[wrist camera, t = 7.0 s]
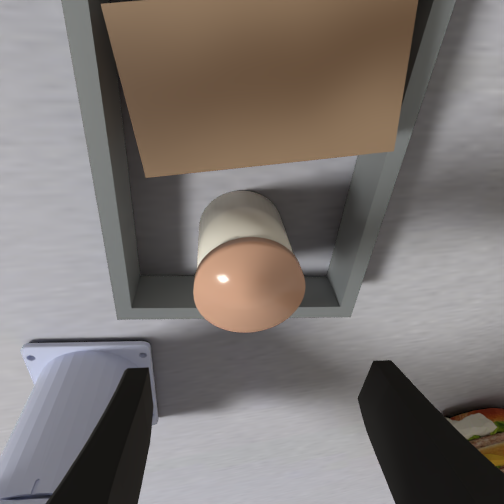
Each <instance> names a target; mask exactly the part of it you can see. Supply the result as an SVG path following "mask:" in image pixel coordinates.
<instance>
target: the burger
mask: <svg viewBox="0 0 504 504" xmlns="http://www.w3.org/2000/svg"><path fill="white" fill-rule="evenodd" d="M445 418H446V417H445ZM446 419H447V420H448V421H449V422H450V423H451V424H452V425H453V426H454V427H455V428H456V429H457V430H458V431H459V432H460V433H461V434H462V435H463V436H464V437H465V438H466V439H467V440H468V441H469V442H470V443H471V444H472V445H473V446H474V447H476V448H477V449H478V450H479V451H480V452H481V453H482V454H483V455H484V456H485V457H486V458H487V459H488V460H489V461H491V462H492V463H493V464H494V465H495V466H496V467H497V468H498V469H500V470H501V471H502V472H503V473H504V409H501V408H488V409H481V410H474V411H471V412H467V413H464V414H460V415H457V416H454V417H452V418H450V419H449V418H446Z"/></svg>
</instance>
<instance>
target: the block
mask: <svg viewBox="0 0 504 504" xmlns="http://www.w3.org/2000/svg"><path fill="white" fill-rule="evenodd" d="M417 5H418V0H140V1H128V2H117V3H105V4H101V8H102V11H103V15H104V19H105V23H106V27H107V31H108V34H109V38H110V42H111V46H112V50H113V54H114V58H115V61H116V65H117V69H118V73H119V77H120V81H121V84H122V88H123V92H124V96H125V100H126V104H127V108H128V111H129V115H130V119H131V123H132V127H133V131H134V134H135V138H136V142H137V146H138V150H139V154H140V158H141V161H142V165H143V169H144V173H145V177H146V178H150V177H159V176H169V175H178V174H187V173H197V172H206V171H215V170H225V169H234V168H243V167H252V166H262V165H271V164H280V163H290V162H299V161H308V160H317V159H327V158H336V157H345V156H355V155H364V154H373V153H383V152H392V151H394V148H395V142H396V136H397V129H398V123H399V117H400V111H401V105H402V98H403V92H404V86H405V80H406V74H407V67H408V61H409V55H410V49H411V43H412V36H413V30H414V24H415V18H416V11H417Z"/></svg>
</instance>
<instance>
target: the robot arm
mask: <svg viewBox="0 0 504 504" xmlns="http://www.w3.org/2000/svg"><path fill="white" fill-rule="evenodd" d="M21 354H22V357H23V359H24V361H25V364H26V366H27V369H28V371H29V373H30V376H31V378H32V381H33V383H34V388H33V390H32V392H31V394H30V396H29V398H28V400H27V402H26V404H25V406H24V408H23V410H22V412H21V415H20V417H19V419H18V421H17V423H16V425H15V427H14V429H13V431H12V433H11V435H10V437H9V440H8V442H7V444H6V446H5V448H4V450H3V452H2V454H1V456H0V504H138V499H139V494H140V489H141V485H142V480H143V475H144V470H145V465H146V460H147V455H148V450H149V445H150V437H151V428H152V425H155V424H157V423H158V409H157V400H156V391H155V382H154V372H153V363H152V354H151V346H150V344H149V343H148V342H146V341H120V342H66V343H27V344H25V345H23V347H22V349H21ZM358 401H359V405H360V409H361V413H362V417H363V420H364V424H365V427H366V431H367V433H368V436H369V439H370V441H371V444H372V446H373V449H374V451H375V454H376V456H377V459H378V461H379V464H380V466H381V469H382V471H383V474H384V476H385V479H386V481H387V484H388V486H389V489H390V491H391V494H392V496H393V499H394V501H395V504H504V473H503V472H502V471H501V470H500V469H498V468H497V467H496V466H495V465H494V464H493V463H492V462H491V461H489V460H488V459H487V458H486V457H485V456H484V455H483V454H482V453H481V452H480V451H479V450H478V449H477V448H476V447H474V446H473V445H472V444H471V443H470V442H469V441H468V440H467V439H466V438H465V437H464V436H463V435H462V434H461V433H460V432H459V431H458V430H457V429H456V428H455V427H454V426H453V425H452V424H451V423H450V422H449V421H448V420H447V419H446V418H445V417H444V416H443V415H442V414H441V413H440V412H439V411H438V410H437V409H436V408H435V407H434V406H433V405H432V404H431V403H430V402H429V401H428V400H427V398H426V397H425V396H424V395H423V394H422V393H421V392H420V391H419V390H418V389H417V388H416V387H415V386H414V385H413V383H412V382H411V381H410V380H409V379H408V378H407V377H406V376H405V375H404V374H403V373H402V372H401V371H400V369H399V368H398V367H397V366H396V365H395V364H394V363H393V362H392V361H391V360H385V361H373V363H372V366H371V368H370V370H369V373H368V375H367V377H366V380H365V382H364V385H363V387H362V389H361V392H360V394H359V396H358Z"/></svg>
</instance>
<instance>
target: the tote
mask: <svg viewBox="0 0 504 504" xmlns="http://www.w3.org/2000/svg"><path fill="white" fill-rule="evenodd" d="M61 1H62V7H63V13H64V18H65V24H66V30H67V35H68V41H69V47H70V53H71V58H72V64H73V70H74V75H75V81H76V87H77V92H78V98H79V104H80V109H81V115H82V121H83V127H84V132H85V138H86V144H87V149H88V155H89V161H90V166H91V172H92V178H93V183H94V189H95V195H96V200H97V206H98V212H99V218H100V223H101V229H102V235H103V240H104V246H105V252H106V257H107V263H108V269H109V274H110V280H111V286H112V292H113V297H114V303H115V309H116V314H117V320H126V319H205V318H204V317H203V316H202V315H201V314H200V312H199V311H198V309H197V307H196V305H195V301H194V295H193V290H194V277H195V276H140V268H139V259H138V251H137V242H136V233H135V224H134V216H133V207H132V198H131V189H130V181H129V172H128V163H127V155H126V146H125V137H124V128H123V120H122V111H121V102H120V93H119V85H118V76H117V67H116V61H115V58H114V54H113V50H112V46H111V42H110V38H109V34H108V31H107V27H106V23H105V19H104V15H103V11H102V8H101V4H105V3H109V0H61ZM455 2H456V0H418V5H417V11H416V18H415V24H414V30H413V36H412V43H411V49H410V55H409V61H408V67H407V74H406V80H405V86H404V92H403V98H402V105H401V111H400V117H399V123H398V129H397V136H396V142H395V148H394V151H392V152H383V153H373V154H364V155H358V157H357V161H356V165H355V168H354V172H353V176H352V180H351V184H350V188H349V192H348V196H347V199H346V203H345V207H344V211H343V215H342V219H341V223H340V227H339V230H338V234H337V238H336V242H335V246H334V250H333V254H332V258H331V261H330V265H329V269H328V273H327V277H304V278H305V294H304V297H303V300H302V302H301V304H300V305H299V307H298V308H297V310H296V311H295V312H294V313H293V314H292V315H291V316H290V317H289V318H317V317H351V314H352V311H353V308H354V305H355V302H356V299H357V296H358V293H359V290H360V287H361V284H362V281H363V278H364V275H365V272H366V269H367V266H368V263H369V260H370V257H371V254H372V251H373V248H374V245H375V242H376V239H377V236H378V233H379V230H380V227H381V224H382V221H383V218H384V215H385V212H386V209H387V206H388V203H389V200H390V197H391V194H392V191H393V188H394V185H395V182H396V179H397V176H398V173H399V170H400V167H401V164H402V161H403V158H404V155H405V152H406V149H407V146H408V143H409V140H410V137H411V134H412V131H413V128H414V125H415V122H416V119H417V116H418V113H419V110H420V107H421V104H422V101H423V98H424V95H425V92H426V89H427V86H428V83H429V80H430V77H431V74H432V71H433V68H434V65H435V62H436V59H437V56H438V53H439V50H440V47H441V44H442V41H443V38H444V35H445V32H446V29H447V26H448V23H449V20H450V17H451V14H452V11H453V8H454V5H455Z"/></svg>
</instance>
